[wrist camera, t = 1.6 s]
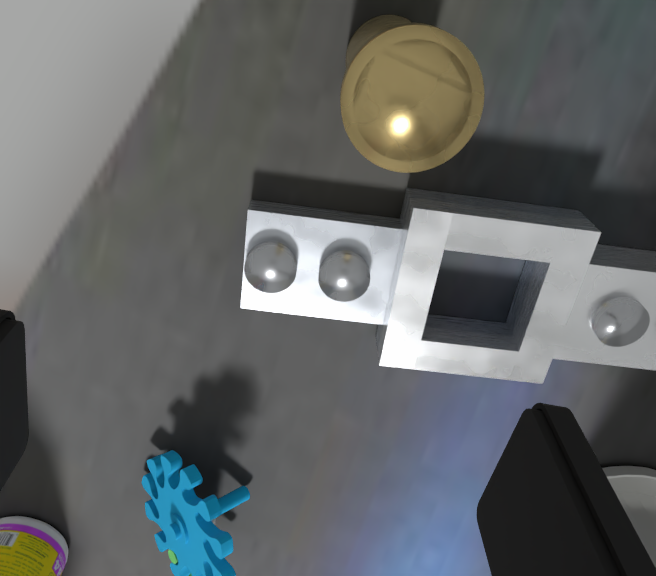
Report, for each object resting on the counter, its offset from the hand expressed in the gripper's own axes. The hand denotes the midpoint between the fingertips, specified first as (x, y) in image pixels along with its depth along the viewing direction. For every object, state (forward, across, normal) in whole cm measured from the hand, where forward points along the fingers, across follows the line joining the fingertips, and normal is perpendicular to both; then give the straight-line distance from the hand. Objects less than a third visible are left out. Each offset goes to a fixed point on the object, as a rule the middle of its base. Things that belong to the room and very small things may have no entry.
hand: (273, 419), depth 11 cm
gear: (+23, +5, +27) cm, 36 cm away
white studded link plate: (+22, -11, +6) cm, 25 cm away
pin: (+22, -3, -4) cm, 22 cm away
